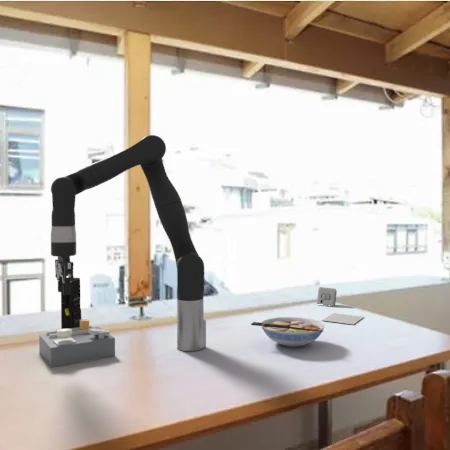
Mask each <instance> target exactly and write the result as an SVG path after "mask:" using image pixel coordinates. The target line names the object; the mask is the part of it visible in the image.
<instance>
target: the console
mask: <svg viewBox="0 0 450 450" xmlns="http://www.w3.org/2000/svg"><path fill="white" fill-rule="evenodd" d="M71 329H72V337H69V338H63V339H61V338H57V330H50V331H46V333H43V334H39V338H38V339H39V340H38V341H39V344H38V345H39V352H38V353H39V354H40V355H41V356H42V357H43V360H44V361H45V362H46V363H47V365H49V368H52V369H53V368H55V367H56V368H57V367H62V366H68V365H72V364H74V365H75V364H77V363H78V364H79V363H83V362H84V363H85V362H88V361H89V362H90V361H94V360H100V359H105V358H106V359H107V358H110V357H111V358H112V357H115V356H116V338H115V336H113V335H112V334H109V336H106V335H104V332H100V333H99V335H91V334H90V333H89V332H88V331H89V329H102V328H101V327H100V326H93V327H92V325H89V329H86V330H80V327H78V328H71Z"/></svg>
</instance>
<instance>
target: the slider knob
mask: <svg viewBox="0 0 450 450" xmlns="http://www.w3.org/2000/svg"><path fill="white" fill-rule="evenodd" d="M89 326H90V319H88V318H81V320H80V330H86V329H89Z"/></svg>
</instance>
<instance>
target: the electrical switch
mask: <svg viewBox="0 0 450 450" xmlns="http://www.w3.org/2000/svg"><path fill="white" fill-rule="evenodd" d="M337 292H338V291H337V289H336V288H333V287H331V288H330V287H322V286H319V287H318V292H317V299H316V305H317V304H323V305H330V306H334V305H335V306H336V300H337V299H336V298H337ZM330 306H329V307H330ZM335 306H334V307H335Z"/></svg>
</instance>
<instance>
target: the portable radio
mask: <svg viewBox="0 0 450 450" xmlns="http://www.w3.org/2000/svg"><path fill="white" fill-rule="evenodd" d="M60 313H61V314H60V315H61V317H60V318H61V320H60V321H61V322H60V325H61V326H60V327H61V328H60V329H71V328H78V327H80V320H81V319H82V309H81V278H80V277H73V281H72V282H71V294H70V295H63V292H60Z"/></svg>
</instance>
